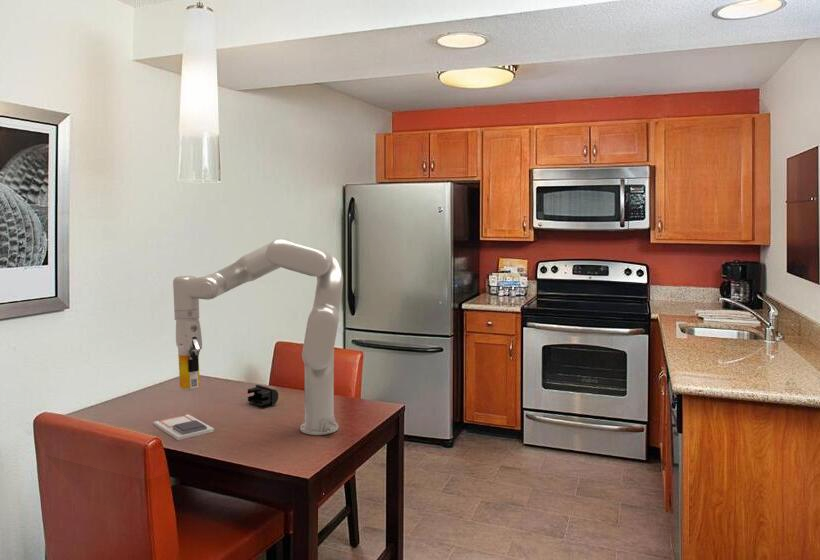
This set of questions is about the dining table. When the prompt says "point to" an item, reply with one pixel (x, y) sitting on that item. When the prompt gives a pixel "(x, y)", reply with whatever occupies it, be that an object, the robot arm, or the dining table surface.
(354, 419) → the dining table surface
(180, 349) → the beer can
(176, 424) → the stamping board
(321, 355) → the robot arm
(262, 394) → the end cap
